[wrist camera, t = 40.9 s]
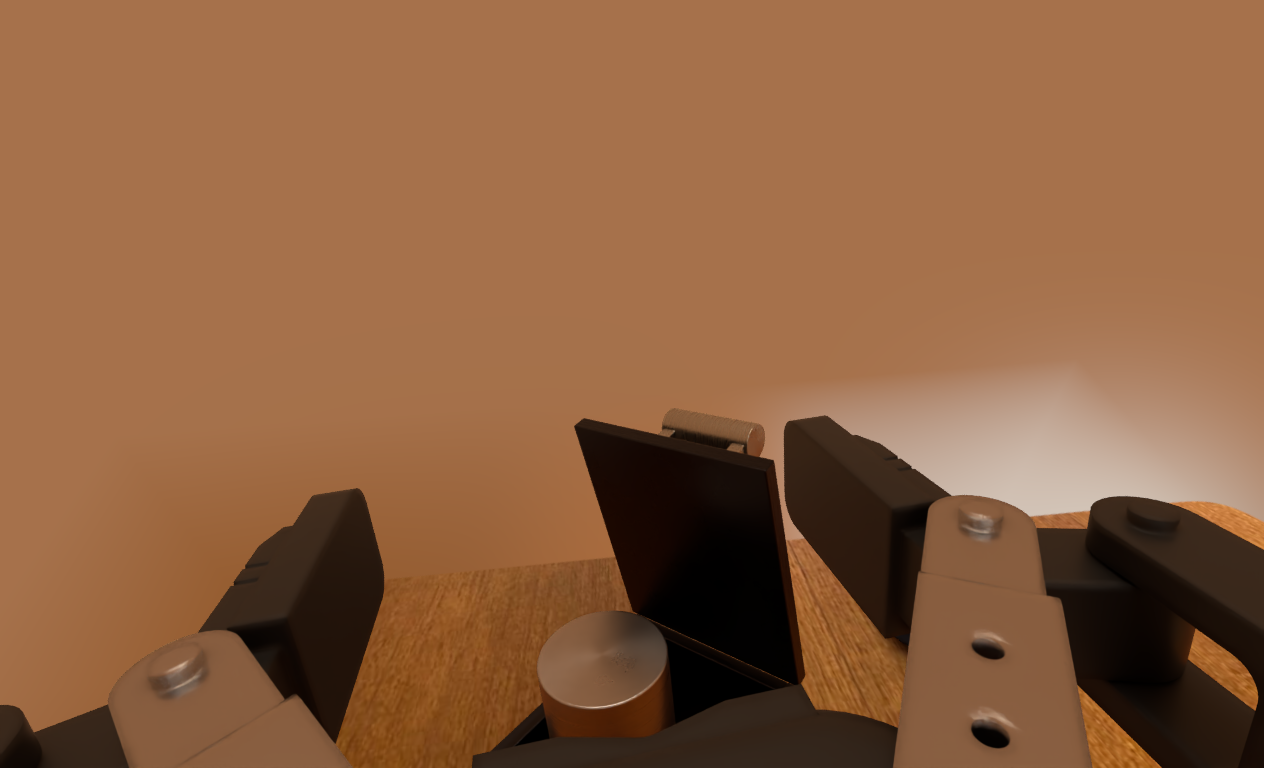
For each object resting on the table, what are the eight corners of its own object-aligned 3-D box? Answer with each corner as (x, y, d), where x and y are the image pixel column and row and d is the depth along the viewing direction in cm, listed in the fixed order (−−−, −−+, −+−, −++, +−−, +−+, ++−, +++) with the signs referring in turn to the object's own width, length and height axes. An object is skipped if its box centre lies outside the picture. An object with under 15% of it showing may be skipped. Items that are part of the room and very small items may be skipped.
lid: (765, 471, 25) (816, 406, 28) (573, 425, 31) (632, 377, 34) (799, 687, 31) (837, 614, 34) (632, 612, 37) (677, 556, 40)
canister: (583, 934, 27) (542, 724, 23) (567, 814, 32) (531, 627, 28) (704, 894, 28) (685, 686, 24) (670, 783, 33) (649, 598, 30)
